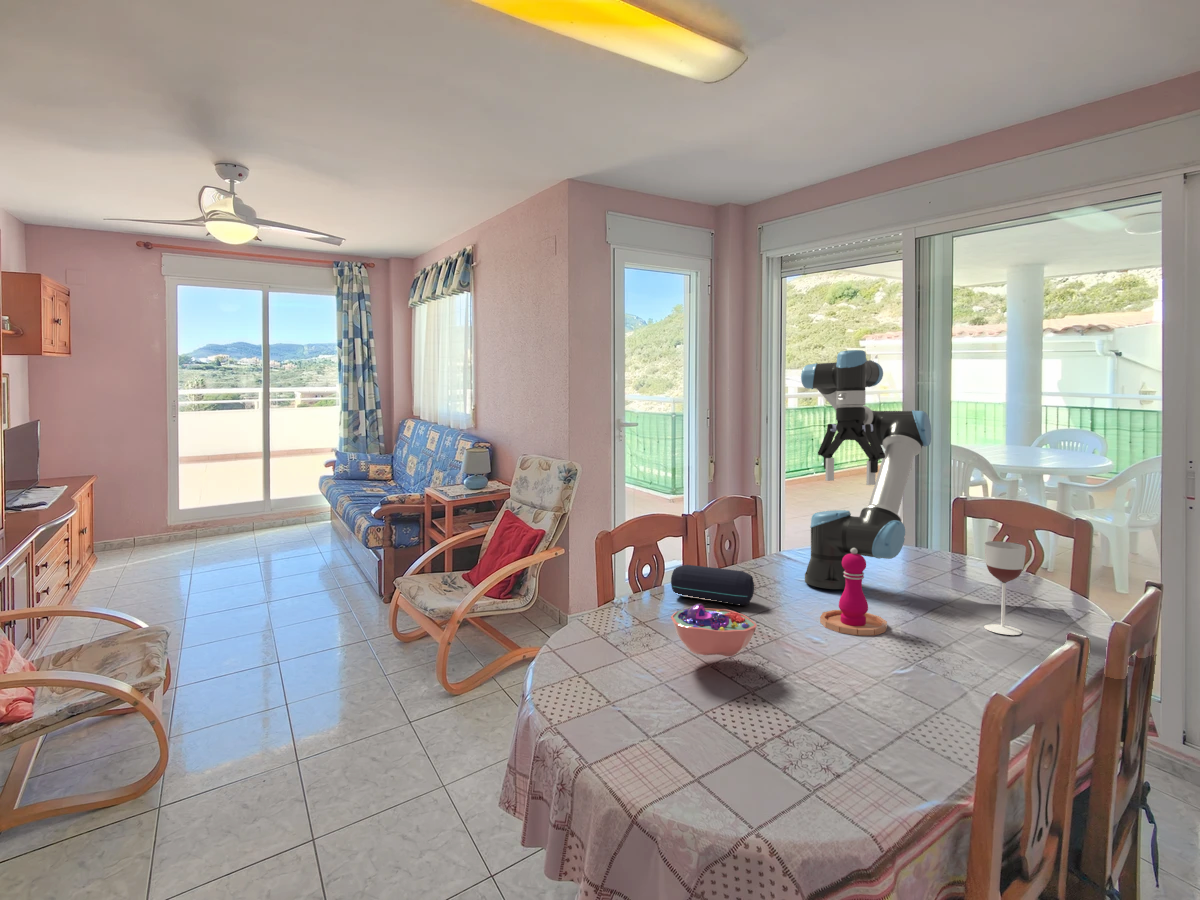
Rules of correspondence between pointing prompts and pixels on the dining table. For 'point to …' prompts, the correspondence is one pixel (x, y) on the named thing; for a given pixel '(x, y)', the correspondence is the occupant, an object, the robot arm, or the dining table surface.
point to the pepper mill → (853, 590)
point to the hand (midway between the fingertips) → (849, 482)
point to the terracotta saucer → (871, 627)
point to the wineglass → (1004, 574)
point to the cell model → (713, 630)
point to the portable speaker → (713, 584)
